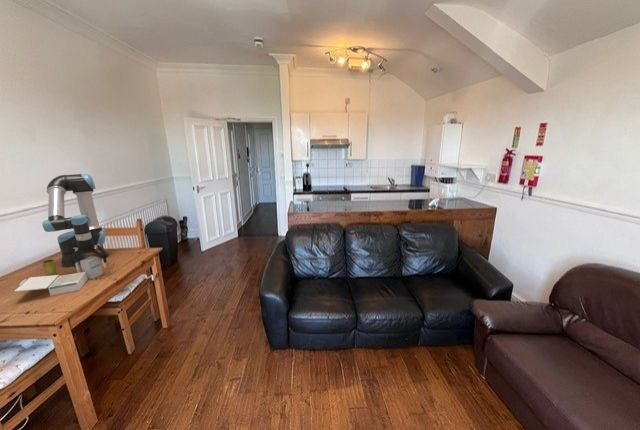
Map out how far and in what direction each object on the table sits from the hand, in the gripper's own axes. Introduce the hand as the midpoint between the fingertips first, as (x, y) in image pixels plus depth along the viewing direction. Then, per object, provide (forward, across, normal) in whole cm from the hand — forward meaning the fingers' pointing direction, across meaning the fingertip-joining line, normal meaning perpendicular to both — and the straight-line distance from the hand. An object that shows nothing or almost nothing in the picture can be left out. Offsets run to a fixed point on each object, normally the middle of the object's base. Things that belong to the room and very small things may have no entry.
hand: (92, 269), depth 174 cm
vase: (+5, -21, +3) cm, 22 cm away
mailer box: (+5, -9, -11) cm, 15 cm away
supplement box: (+5, 0, 0) cm, 5 cm away
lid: (-3, -22, -11) cm, 25 cm away
